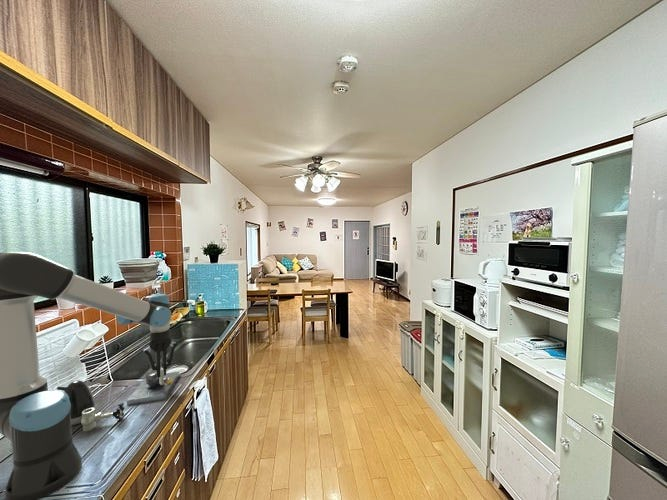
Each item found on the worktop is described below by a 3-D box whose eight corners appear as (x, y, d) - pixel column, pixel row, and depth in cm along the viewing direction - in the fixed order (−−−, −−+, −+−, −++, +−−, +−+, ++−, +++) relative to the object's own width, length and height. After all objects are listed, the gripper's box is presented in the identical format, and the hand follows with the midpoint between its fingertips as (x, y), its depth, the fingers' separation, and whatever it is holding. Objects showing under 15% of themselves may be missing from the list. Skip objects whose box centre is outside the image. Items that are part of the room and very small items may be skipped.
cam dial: (179, 385, 127) (178, 373, 127) (164, 393, 121) (163, 380, 121) (157, 378, 134) (156, 367, 134) (141, 385, 128) (141, 374, 128)
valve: (78, 435, 99) (119, 425, 104) (76, 417, 99) (118, 408, 104) (85, 424, 105) (125, 415, 110) (84, 407, 105) (123, 399, 110)
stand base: (165, 399, 120) (164, 385, 120) (127, 405, 117) (126, 390, 117) (179, 375, 142) (178, 363, 141) (147, 379, 138) (146, 367, 138)
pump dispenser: (65, 417, 110) (62, 378, 109) (99, 409, 114) (96, 372, 114) (52, 433, 101) (50, 391, 100) (90, 424, 105) (87, 384, 104)
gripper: (173, 325, 131) (174, 375, 131) (140, 331, 122) (142, 386, 122) (178, 328, 126) (180, 381, 126) (145, 335, 117) (146, 392, 117)
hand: (161, 383), depth 124 cm, fingers closed
